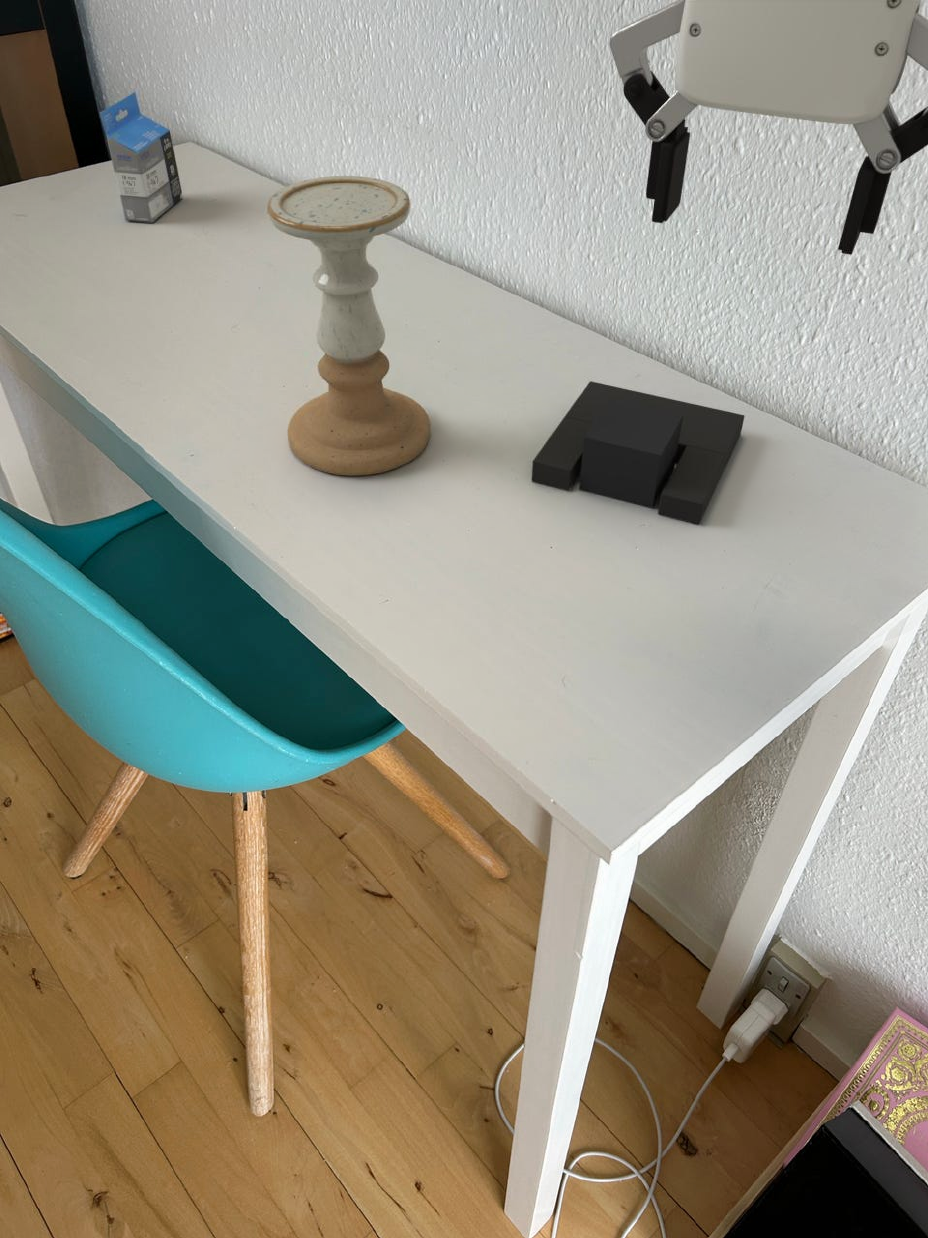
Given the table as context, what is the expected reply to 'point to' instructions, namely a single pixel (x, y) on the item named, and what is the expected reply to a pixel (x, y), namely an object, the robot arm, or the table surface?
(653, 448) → the black cube block
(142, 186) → the ink cartridge box
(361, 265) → the candle holder
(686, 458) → the base pad
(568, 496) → the table surface
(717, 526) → the table surface
